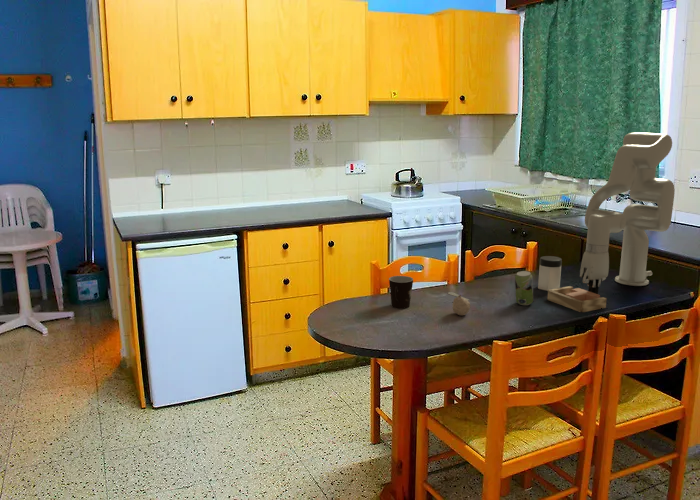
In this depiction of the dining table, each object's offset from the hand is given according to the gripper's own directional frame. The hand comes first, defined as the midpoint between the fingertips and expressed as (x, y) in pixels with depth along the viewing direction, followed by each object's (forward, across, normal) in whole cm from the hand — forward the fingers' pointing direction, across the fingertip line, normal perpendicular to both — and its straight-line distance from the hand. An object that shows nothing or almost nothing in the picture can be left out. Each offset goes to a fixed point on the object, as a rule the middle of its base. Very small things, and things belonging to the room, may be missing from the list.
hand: (592, 296), depth 236 cm
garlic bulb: (+2, +53, -9) cm, 54 cm away
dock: (+1, +8, 0) cm, 8 cm away
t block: (+1, +7, 0) cm, 7 cm away
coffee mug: (+1, +68, -26) cm, 73 cm away
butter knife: (+2, +41, -20) cm, 45 cm away
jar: (+2, +3, -19) cm, 19 cm away
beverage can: (+2, +26, -8) cm, 27 cm away
